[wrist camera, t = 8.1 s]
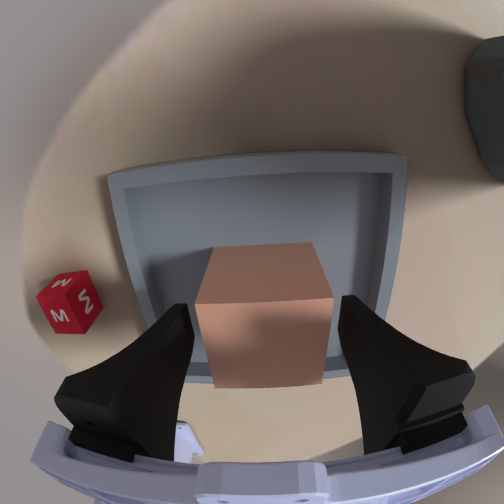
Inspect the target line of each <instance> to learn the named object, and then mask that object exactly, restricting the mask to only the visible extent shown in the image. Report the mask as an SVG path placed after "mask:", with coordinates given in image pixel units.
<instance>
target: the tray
mask: <svg viewBox="0 0 504 504" xmlns="http://www.w3.org/2000/svg"><path fill="white" fill-rule="evenodd" d="M407 167H408V157H405V156H402V155H398V154H394V153H387V152H369V151H335V150H310V151H275V152H256V153H241V154H229V155H218V156H208V157H199V158H191V159H183V160H176V161H169V162H162V163H155V164H149V165H143V166H137V167H132V168H126V169H122V170H119V171H117V172H114V173H112V174H109V175H107V180H108V186H109V191H110V196H111V201H112V206H113V211H114V216H115V220H116V225H117V229H118V233H119V237H120V241H121V245H122V249H123V253H124V257H125V260H126V264H127V268H128V271H129V275H130V278H131V281H132V285H133V288H134V291H135V294H136V297H137V300H138V304H139V307H140V309H141V312H142V315H143V318H144V321H145V324H146V327H147V329H149V328H150V327H151V326H152V325H153V324H154V323H155V322H156V321H157V320H158V319H159V318H160V317H161V316H162V315H163V314H164V313H165V312H166V311H167V310H168V309H169V308H170V307H171V306H173V305H174V304H175V303H187V306H188V310H189V314H190V318H191V322H192V326H193V330H194V334H195V339H194V347H193V353H192V357H191V360H190V364H189V367H188V371H187V374H186V378H185V381H184V382H185V383H207V384H214V382H213V379H212V375H211V371H210V367H209V363H208V359H207V355H206V351H205V347H204V343H203V339H202V335H201V331H200V326H199V322H198V317H197V313H196V308H195V301H196V298H197V295H198V292H199V289H200V286H201V283H202V280H203V278H204V275H205V272H206V269H207V266H208V263H209V260H210V257H211V254H212V252H213V249H214V247H224V246H244V245H263V244H284V243H305V242H312V244H313V247H314V249H315V251H316V254H317V256H318V259H319V261H320V264H321V266H322V268H323V271H324V273H325V276H326V278H327V281H328V283H329V286H330V289H331V291H332V294H333V296H334V303H333V312H332V320H331V328H330V335H329V342H328V349H327V355H326V361H325V367H324V373H323V379H328V378H336V377H344V376H351V375H350V372H349V369H348V366H347V363H346V360H345V357H344V354H343V351H342V348H341V345H340V340H339V335H338V330H337V328H338V321H339V314H340V306H341V298H342V296H344V295H355V296H356V297H358V298H359V299H360V300H361V301H362V302H363V303H364V304H365V305H367V306H368V307H369V308H370V309H371V310H372V311H373V312H375V313H376V314H377V315H378V316H379V317H381V318H382V319H383V320H384V321H385V318H386V314H387V310H388V306H389V302H390V297H391V292H392V288H393V283H394V278H395V272H396V267H397V261H398V255H399V249H400V242H401V235H402V227H403V219H404V210H405V199H406V186H407Z"/></svg>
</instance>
